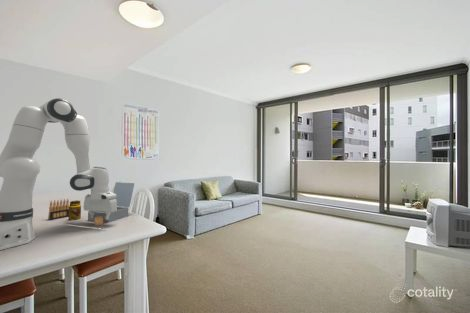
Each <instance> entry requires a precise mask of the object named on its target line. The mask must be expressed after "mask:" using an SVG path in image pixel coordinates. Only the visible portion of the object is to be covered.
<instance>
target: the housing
mask: <svg viewBox="0 0 470 313" xmlns="http://www.w3.org/2000/svg"><path fill="white" fill-rule="evenodd" d="M94 215H96V216H95V217H99V216H102V217H103V223H107V224H109V223H111V222H115V221H117V220H121V219H124V218H127V217H129V207H120V206H117V211H115V212H111V214H110V216H109V219H108V220H105V218H104V217H105V216H106V215H107V214H106V212H99V211H94ZM87 221H89V222H95V218H94V219H92V218H91V215H90V213H89V211H87Z"/></svg>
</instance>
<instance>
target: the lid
mask: <svg viewBox="0 0 470 313" xmlns="http://www.w3.org/2000/svg"><path fill="white" fill-rule="evenodd" d="M134 187H135V182H121V181H120V182H117V181H115V184H114V188H113V191H112V193H114V194H116V198H115V199H116V200H117V207H127V208H130V206H131V202H132V201H131V200H132V196H133V191H134Z"/></svg>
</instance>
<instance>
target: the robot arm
mask: <svg viewBox="0 0 470 313" xmlns="http://www.w3.org/2000/svg"><path fill="white" fill-rule="evenodd" d="M48 123H60V124H61V125H62V127H63V129H64V139H65V140H64V141H65V144H66V146H67V148H68V150H69V151H70V152H71V153H72V154H73V156H74V159H75V164H76V174H74V175H73V176H71V178H70V180H69V185H70V186H69V187H70V188H71V189H73V190H74V191H79V192H80V191H85V190H89V189H90V194H89V193H88V194H86V195H85V196H84V200H83V201H84V202H83V207H82V208H83V210H84V211H85V212H86V211H87V212H88V211H89V213H90V215H91V218H92V219H94V218H95V216H96V215H94V211H99V212H106V214H107V215H106V216H105V217H104V218H105V220H108V219H109V216H110V214H111V212H115V211H116V210H117V207H118V206H117V200H116V199H115V198H116V194H114V193H113V191H110V187H109V182H110V176H109V175H110V174H109V170H108V169H107V168H105V167H100V166H92V167H91V168H90V158H89V151H90V142H91V141H90V140H91V139H90V129H89V125H88V122H87V119H86V118H85V117H84V116H82V115H79V114H78V113H77V111H76V109H75V107H74V106H73V104H72V103H71V102H69V101H68V100H67V99H65V98H64V99H63V98H61V97H60V98H59V97H58V98H53V99H50V100H48V101H46V102H45V103H44V104H42V105H40V106H38V107H37V106H34V105H26V106H25V105H24V106H22V107H21V108H20V110H18V113H17V114H16V116H15V118H14V121H13V124H12V125H11V129H10V133H9V136H8V139H7V141H6V143H5V146H3V149H2V151H1V153H0V177H1V178H2V185H1V189H0V251H2V250H6V249H10V248H13V247H17V246H22V245H26V244H29V243H32V240H34V239H36V234H35V231H34V226H33V217H34V208H33V193H34V187H35V185H36V184H35V183H36V180H37V177H38V175H39V173H40V170H41V166H40V164H39V162H38V161H36V159H33V157H34V155H35V154H36V152H37V151H38V150H39V148H40V146H41V143H42V141H43V140H42V139H43V135H44V132H45V129H46V126H47V124H48Z"/></svg>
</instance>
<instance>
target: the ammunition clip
mask: <svg viewBox="0 0 470 313" xmlns="http://www.w3.org/2000/svg"><path fill="white" fill-rule="evenodd" d="M69 206H70V201H69V198H63V200H62V199H60V201H59V199H57V201H56V200H55V199H54V200H53V201H52V200H50V201H49V206H48V207H49V210H48V218H47V219H48V221H54V220H59V219H65V218H69Z"/></svg>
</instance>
